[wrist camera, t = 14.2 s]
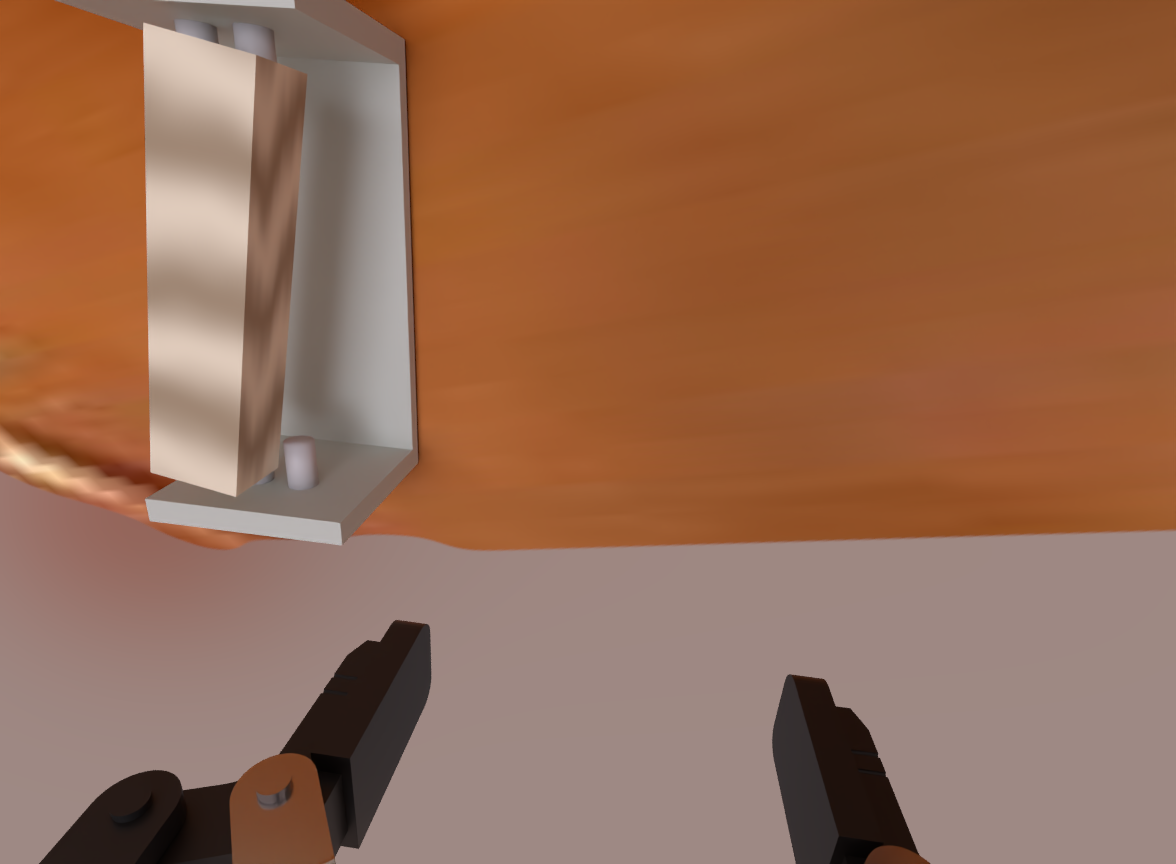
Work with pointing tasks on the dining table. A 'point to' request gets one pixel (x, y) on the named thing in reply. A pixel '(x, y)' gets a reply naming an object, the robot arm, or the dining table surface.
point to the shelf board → (218, 255)
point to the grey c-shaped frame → (324, 270)
